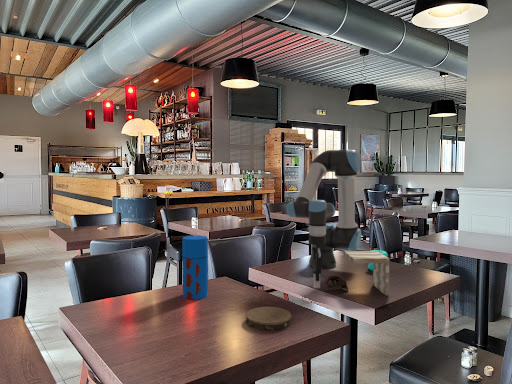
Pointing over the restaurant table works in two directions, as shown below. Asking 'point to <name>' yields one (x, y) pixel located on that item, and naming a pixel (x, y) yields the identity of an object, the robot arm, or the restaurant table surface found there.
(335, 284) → the brown arched shell
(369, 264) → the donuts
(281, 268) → the restaurant table surface
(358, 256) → the counter
